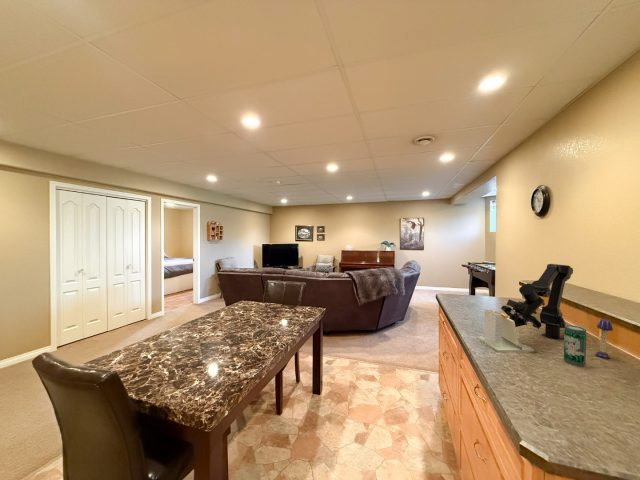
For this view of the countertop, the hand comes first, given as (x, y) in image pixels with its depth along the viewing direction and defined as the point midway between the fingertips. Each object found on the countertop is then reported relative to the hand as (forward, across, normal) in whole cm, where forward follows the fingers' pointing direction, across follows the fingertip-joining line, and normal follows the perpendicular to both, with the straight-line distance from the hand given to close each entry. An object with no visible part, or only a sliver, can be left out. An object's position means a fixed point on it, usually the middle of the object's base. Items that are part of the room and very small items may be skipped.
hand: (507, 328), depth 122 cm
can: (-5, +17, +17) cm, 25 cm away
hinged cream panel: (+4, 0, +5) cm, 6 cm away
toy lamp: (-17, +13, +29) cm, 36 cm away
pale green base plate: (+7, 0, +5) cm, 8 cm away
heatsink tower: (+10, 0, +1) cm, 10 cm away
